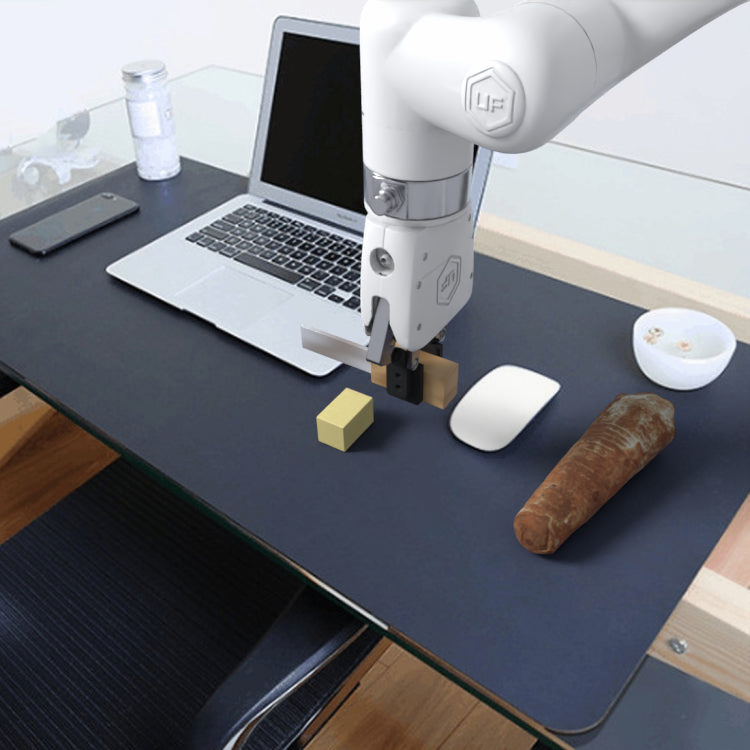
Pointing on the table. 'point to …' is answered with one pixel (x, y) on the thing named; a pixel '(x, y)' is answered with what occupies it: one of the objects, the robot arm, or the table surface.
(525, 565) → the table surface
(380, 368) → the knife
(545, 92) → the robot arm
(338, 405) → the butter
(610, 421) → the bread
